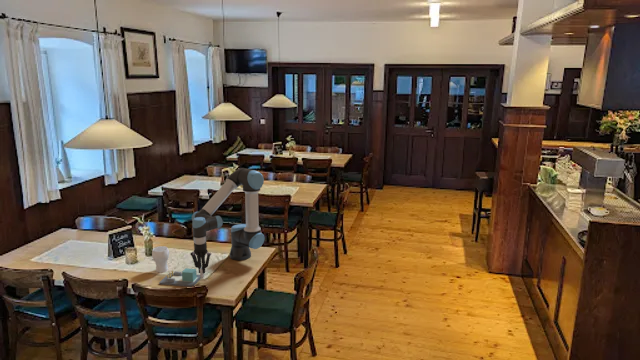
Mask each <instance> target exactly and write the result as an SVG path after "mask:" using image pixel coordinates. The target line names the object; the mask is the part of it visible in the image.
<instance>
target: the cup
mask: <svg viewBox="0 0 640 360" xmlns="http://www.w3.org/2000/svg"><path fill="white" fill-rule="evenodd" d="M151 257H152V260H153V261H154V262H155V272H156V273H160V274H161V273H165V272H168V270H169V267H168V260H169V257H170V251H169V248H168V246H166V245H165V246H164V245H162V246H161V245H160V246H156V247H154V248H153V249H152V252H151Z"/></svg>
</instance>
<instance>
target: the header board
mask: <svg viewBox="0 0 640 360" xmlns="http://www.w3.org/2000/svg"><path fill="white" fill-rule="evenodd" d="M200 280H201V279H200V274H197V278H196V279H195V280H194V281H193V282H190V281H182V271H174V270H173V269H172V270H171V272H169V273H167V274H166V275H165V277H163V278H162V279H161V280H160V281H159V282H158V284H159V285H162V286H163V285H164V286H177V287H178V286H179V287H188V288H193V287H194V286H195V285H197V283H198V282H199V281H200ZM192 286H193V287H192Z"/></svg>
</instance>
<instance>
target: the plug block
mask: <svg viewBox="0 0 640 360" xmlns="http://www.w3.org/2000/svg"><path fill="white" fill-rule="evenodd" d="M181 273H182V281H190V282H193V281H194V280H195V279H196V278H197V275H198V274H197V268H187V267H186V268H184V269H183V270H182V271H181Z"/></svg>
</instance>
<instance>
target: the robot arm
mask: <svg viewBox="0 0 640 360" xmlns="http://www.w3.org/2000/svg"><path fill="white" fill-rule="evenodd" d="M264 182H265V179H264V175H263V174H262V173H261V172H260V171H257V170H255V169H249V168H245V167H240V168H238V169H236V170H234V171H233V172H232V173H230V175H228V177H226V179H225V182H224V183H223V184H222V186H221V187H219V188H218V190H217V191H216V192H215V193H214V195H212V197H211V198H210V199H209V200H208V201H207V202H206V203H205V205H204V206H203V207H202V208H201V209H200V210H199V211H194V212H193V213H192V215H191V221H192V226H191V227H192V235H193V249H194V250H193V251H192V252H190V253H189V254H190V256H191V258H192V261H193V263H194V264H193V265H194V266H195V269H198V274H199V275H200V280H202V279H204V278H205V273H206V269H207V268H208V267H209V263H210V257H211V255H212V252H209V251H208V249H207V248H208V247H207V246H208V245H207V232H209V231H213V230H217V229H219V228H221V227H222V226H223V222H224V220H223V219H222V217H221V216H220V215H215V216H212V215H213V214H214V213H215V212H216V211H217V210H218V209H219V207H220V206H221V205H223V203H224V202H225V201H226V199H227V198H228V197H229V196H230V195H231V194H232V193H233V191H234V190H237V189H238V188H239V187H240V186H242V191H243V192H244V194H245V195H244V196H245V197H244V200H245V201H244V202H245V203H244V205H245V223H240V224H239V223H238V224H234V225H232V226H231V227H230V239H231V240H230V241H231V248H230V250H229V258H230V259H231V260H234V261H244V260H247V259H250V258H251V257H252V251H251V249H252V250H257V249H259V248H260V249H261V247H262V245H263V244H264V243H265V239H266V238H265V235H264V234H263V233H262V229H261V226H260V225H259V224H260V223H259V221H260V220H259V219H260V218H259V192H260V191H261V188H262V187H263V186H264Z"/></svg>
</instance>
